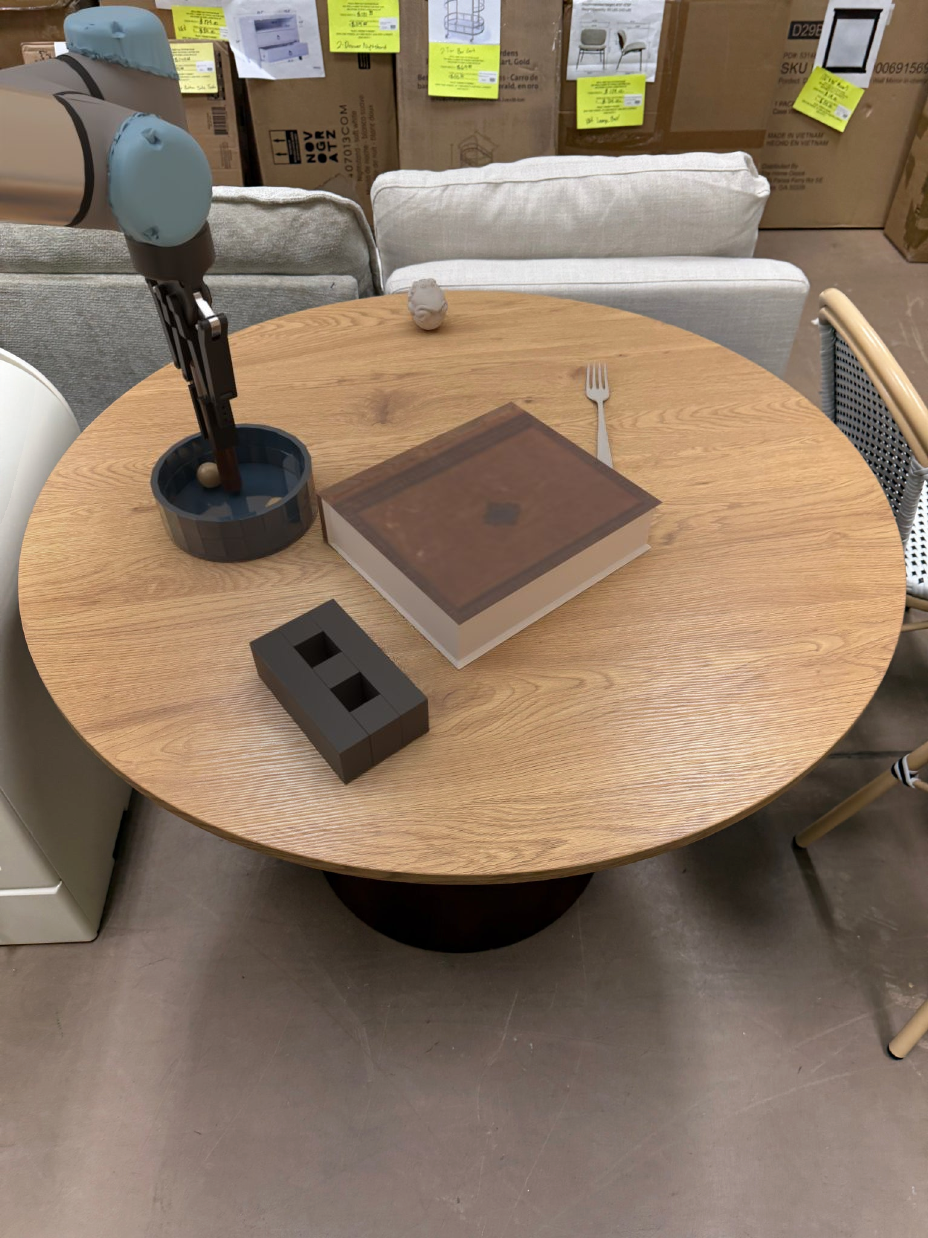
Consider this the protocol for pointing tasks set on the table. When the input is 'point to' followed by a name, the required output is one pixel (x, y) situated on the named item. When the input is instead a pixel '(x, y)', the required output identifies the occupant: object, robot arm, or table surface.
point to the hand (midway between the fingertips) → (220, 439)
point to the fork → (600, 413)
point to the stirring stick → (225, 458)
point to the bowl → (237, 496)
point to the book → (486, 528)
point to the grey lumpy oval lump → (427, 303)
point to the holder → (341, 689)
